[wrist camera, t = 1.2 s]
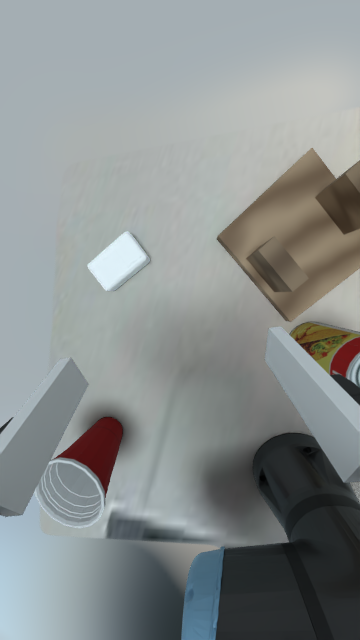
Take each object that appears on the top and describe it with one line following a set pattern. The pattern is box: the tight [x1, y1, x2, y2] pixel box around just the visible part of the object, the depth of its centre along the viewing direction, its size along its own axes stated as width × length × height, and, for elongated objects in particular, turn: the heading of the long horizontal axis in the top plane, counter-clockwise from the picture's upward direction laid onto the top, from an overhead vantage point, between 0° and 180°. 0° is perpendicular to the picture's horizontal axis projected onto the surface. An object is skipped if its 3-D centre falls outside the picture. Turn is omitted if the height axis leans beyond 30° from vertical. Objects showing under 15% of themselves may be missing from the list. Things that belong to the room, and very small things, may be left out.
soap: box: [88, 231, 150, 291], centre depth 29 cm, size 9×6×3 cm, turn 127°
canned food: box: [290, 322, 360, 388], centre depth 24 cm, size 8×8×12 cm
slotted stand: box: [217, 148, 360, 322], centre depth 24 cm, size 18×17×6 cm
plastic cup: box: [35, 417, 123, 528], centre depth 29 cm, size 11×11×12 cm
